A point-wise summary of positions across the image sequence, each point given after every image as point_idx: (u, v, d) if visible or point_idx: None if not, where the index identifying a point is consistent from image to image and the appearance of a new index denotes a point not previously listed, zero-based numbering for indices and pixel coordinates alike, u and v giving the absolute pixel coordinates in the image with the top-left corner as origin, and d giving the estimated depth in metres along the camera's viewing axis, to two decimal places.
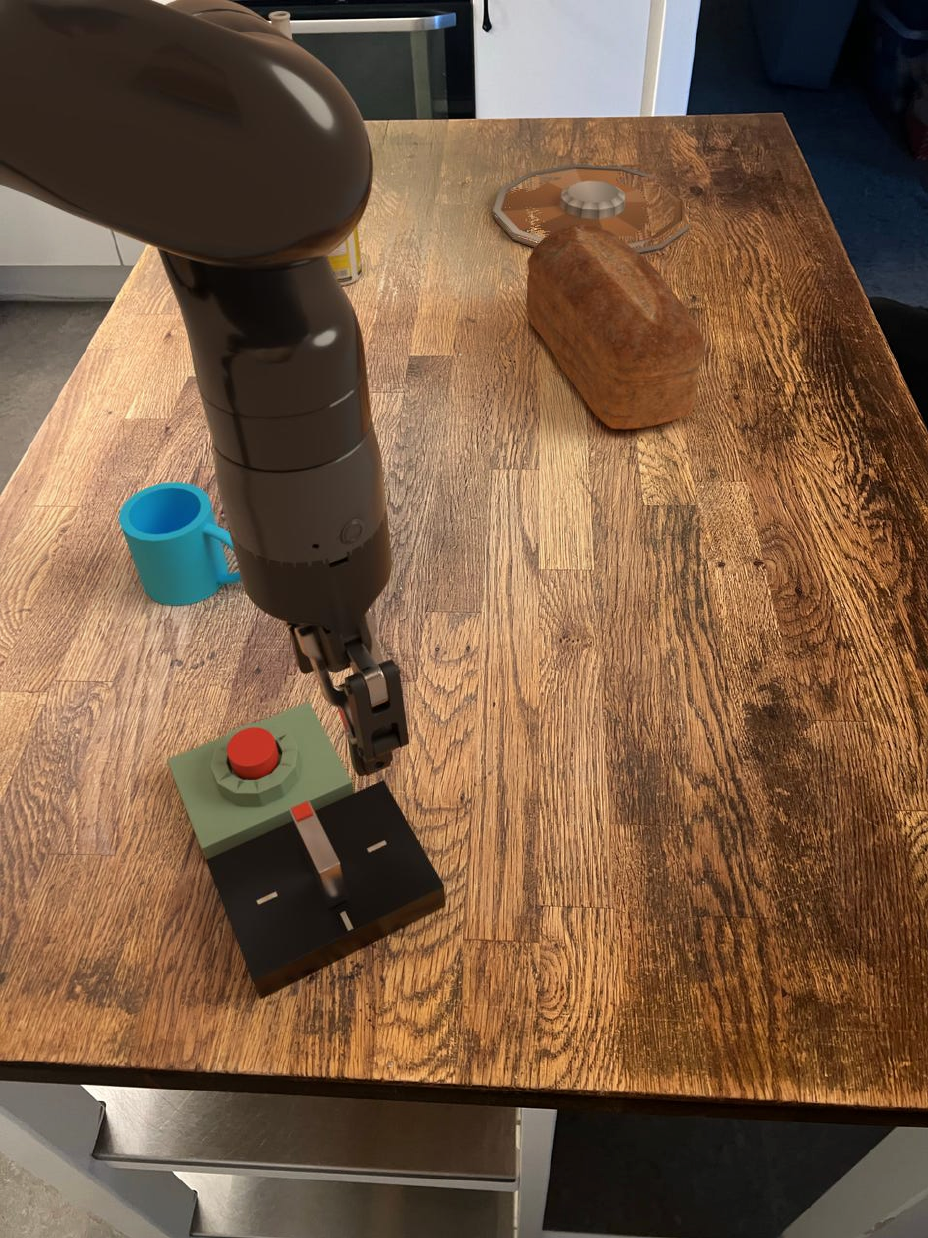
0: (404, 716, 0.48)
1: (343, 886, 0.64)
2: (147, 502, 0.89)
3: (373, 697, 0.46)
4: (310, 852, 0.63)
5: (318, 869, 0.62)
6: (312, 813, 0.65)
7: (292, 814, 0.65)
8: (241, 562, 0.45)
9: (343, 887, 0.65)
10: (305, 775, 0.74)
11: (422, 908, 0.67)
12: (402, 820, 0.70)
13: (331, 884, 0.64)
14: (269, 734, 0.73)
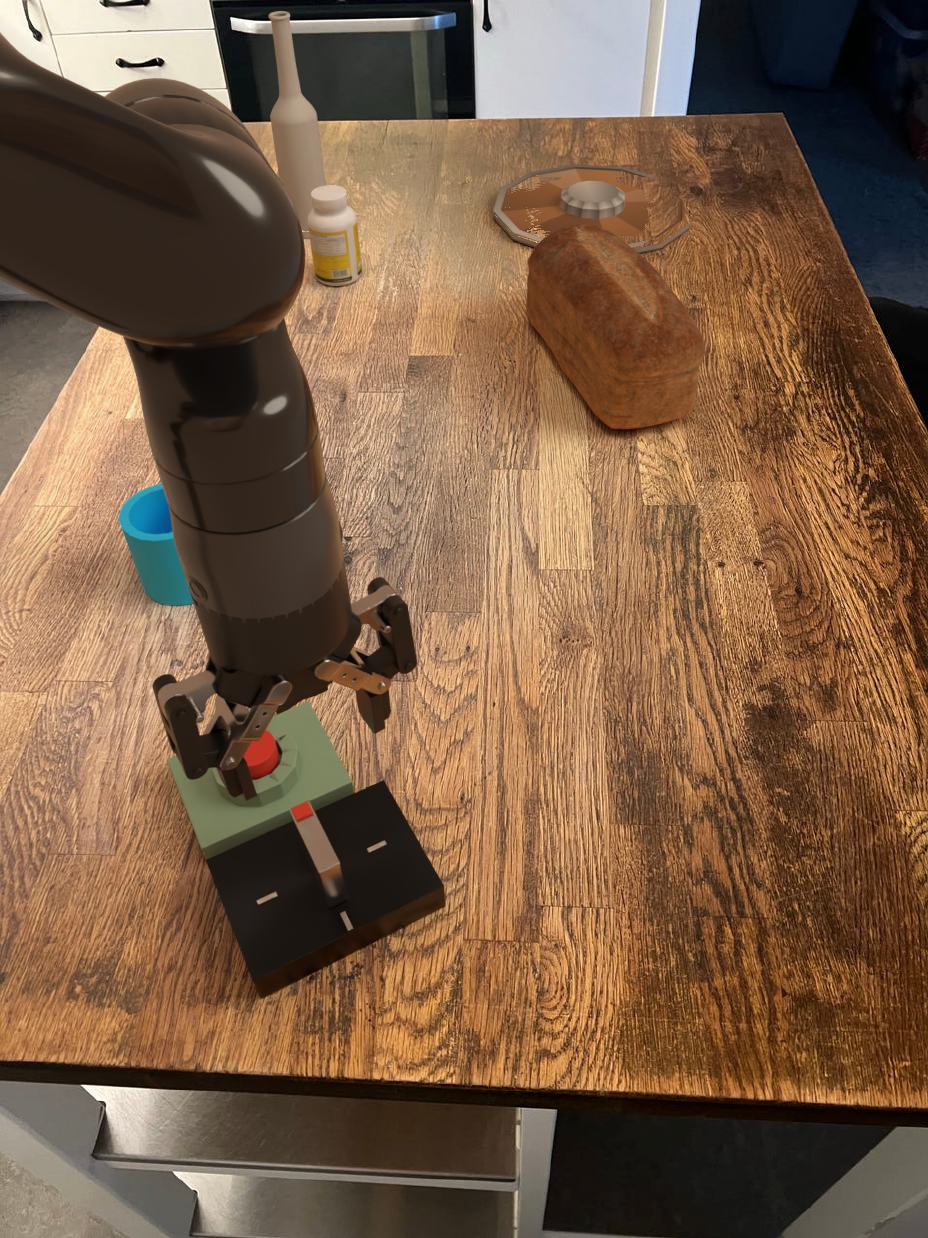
0: (179, 752, 0.49)
1: (343, 886, 0.64)
2: (147, 502, 0.89)
3: (160, 706, 0.49)
4: (310, 852, 0.63)
5: (318, 869, 0.62)
6: (312, 813, 0.65)
7: (292, 814, 0.65)
8: None
9: (343, 887, 0.65)
10: (305, 775, 0.74)
11: (422, 908, 0.67)
12: (402, 820, 0.70)
13: (331, 884, 0.64)
14: (269, 734, 0.73)
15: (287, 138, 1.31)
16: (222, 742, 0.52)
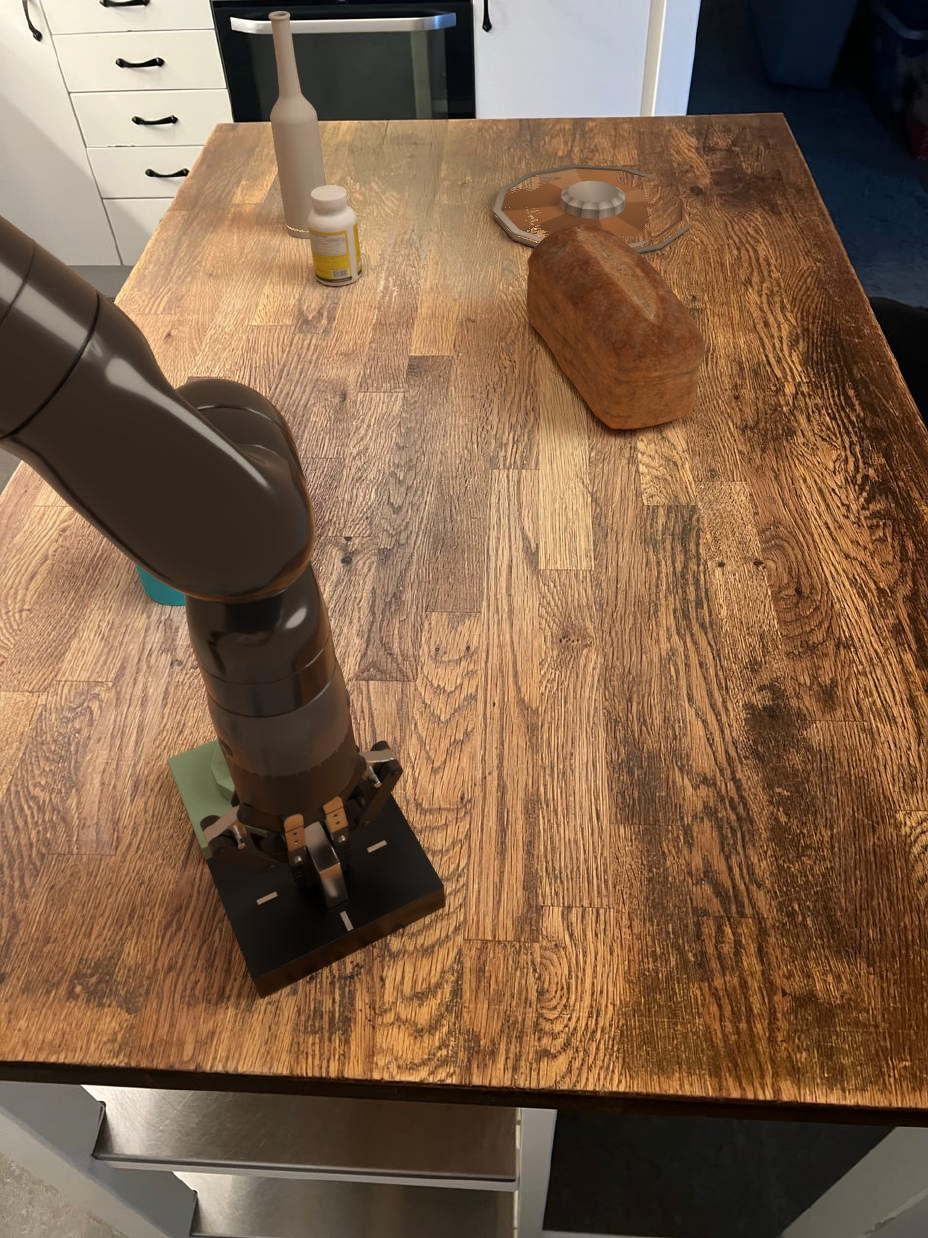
0: (243, 866, 0.60)
1: (343, 886, 0.64)
2: None
3: None
4: (310, 852, 0.63)
5: (318, 869, 0.62)
6: None
7: None
8: None
9: (343, 887, 0.65)
10: None
11: (422, 908, 0.67)
12: (402, 820, 0.70)
13: (331, 884, 0.64)
14: None
15: (287, 138, 1.31)
16: None
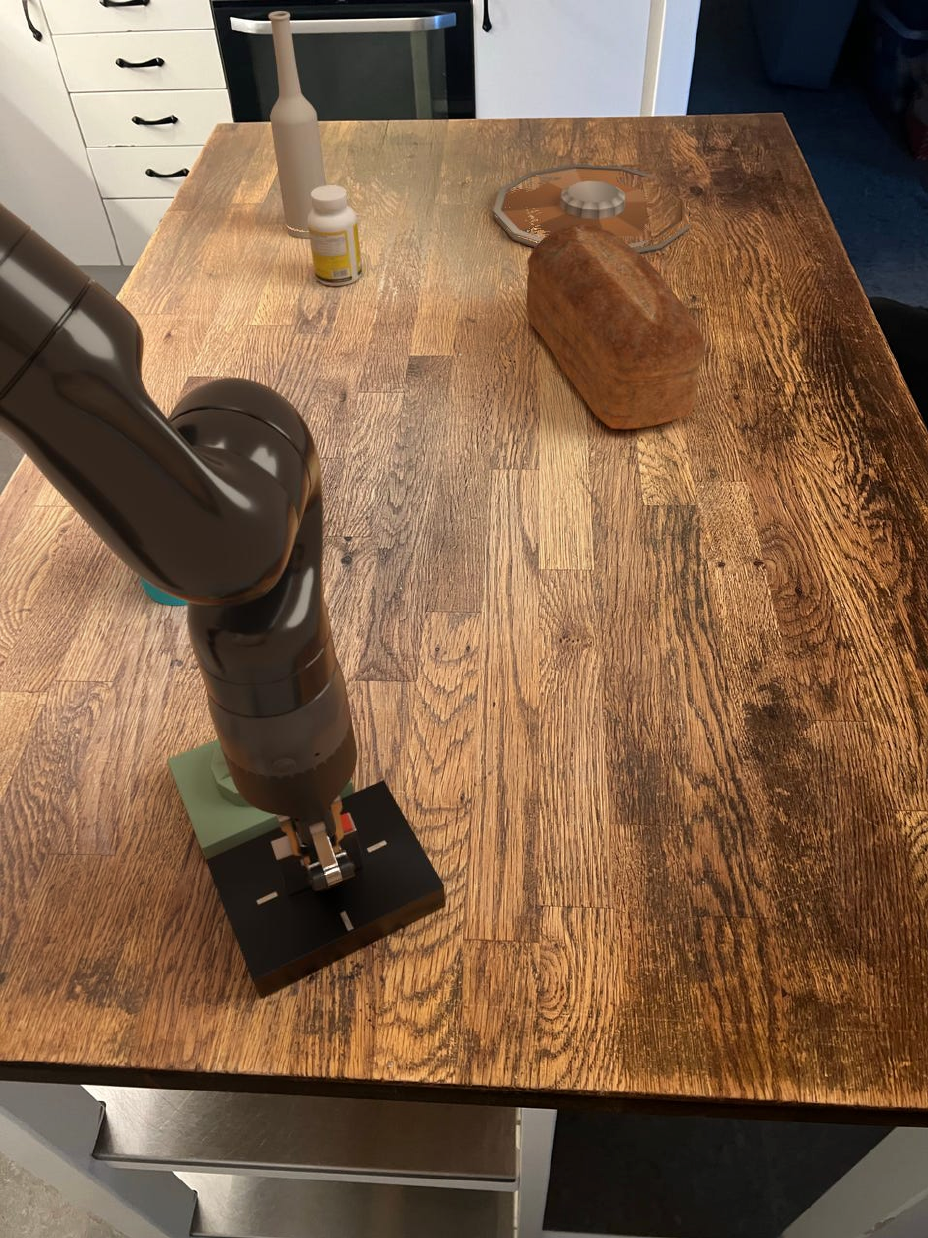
0: None
1: (283, 880, 0.65)
2: None
3: None
4: None
5: (275, 840, 0.64)
6: None
7: None
8: None
9: None
10: None
11: (422, 908, 0.67)
12: (402, 820, 0.70)
13: (278, 864, 0.65)
14: None
15: (287, 138, 1.31)
16: None
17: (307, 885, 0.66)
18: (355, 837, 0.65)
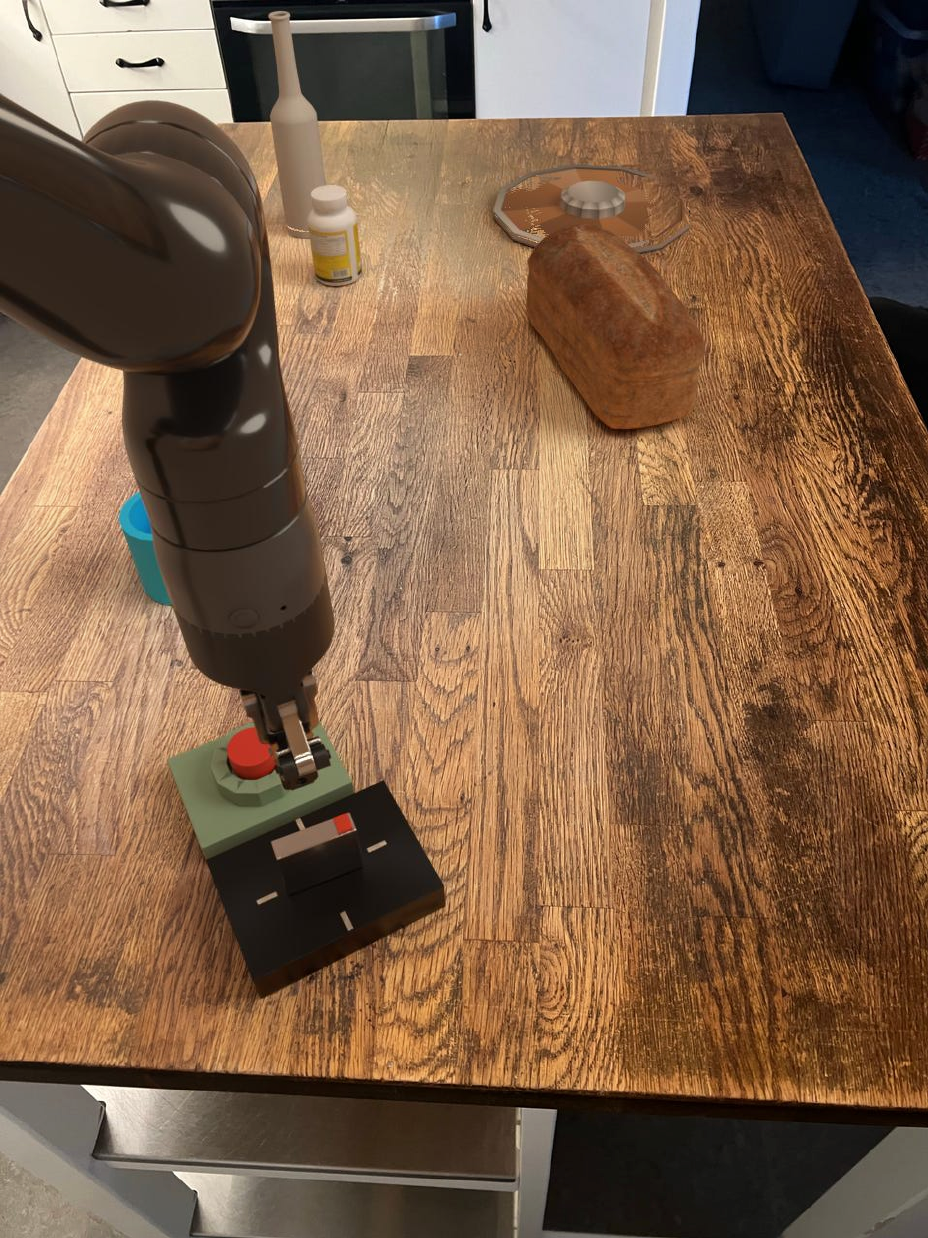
0: None
1: (283, 880, 0.65)
2: None
3: None
4: (295, 833, 0.64)
5: (275, 840, 0.64)
6: (338, 833, 0.64)
7: None
8: None
9: None
10: None
11: (422, 908, 0.67)
12: (402, 820, 0.70)
13: (278, 864, 0.65)
14: None
15: (287, 138, 1.31)
16: None
17: (307, 885, 0.66)
18: (355, 837, 0.65)
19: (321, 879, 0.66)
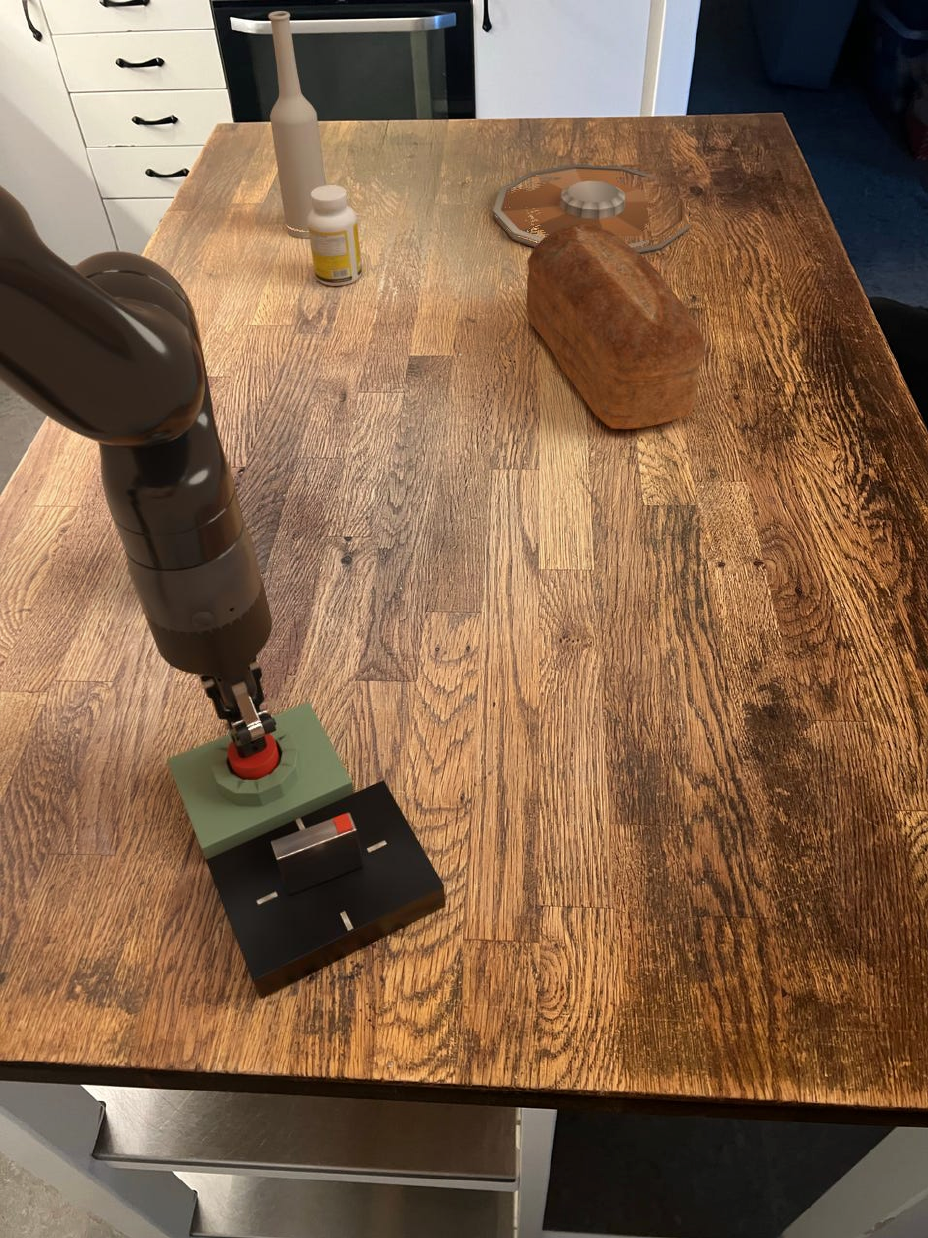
0: None
1: (283, 880, 0.65)
2: None
3: None
4: (295, 833, 0.64)
5: (275, 840, 0.64)
6: (338, 833, 0.64)
7: None
8: None
9: None
10: (305, 775, 0.74)
11: (422, 908, 0.67)
12: (402, 820, 0.70)
13: (278, 864, 0.65)
14: (270, 736, 0.73)
15: (287, 138, 1.31)
16: None
17: (307, 885, 0.66)
18: (355, 837, 0.65)
19: (321, 879, 0.66)
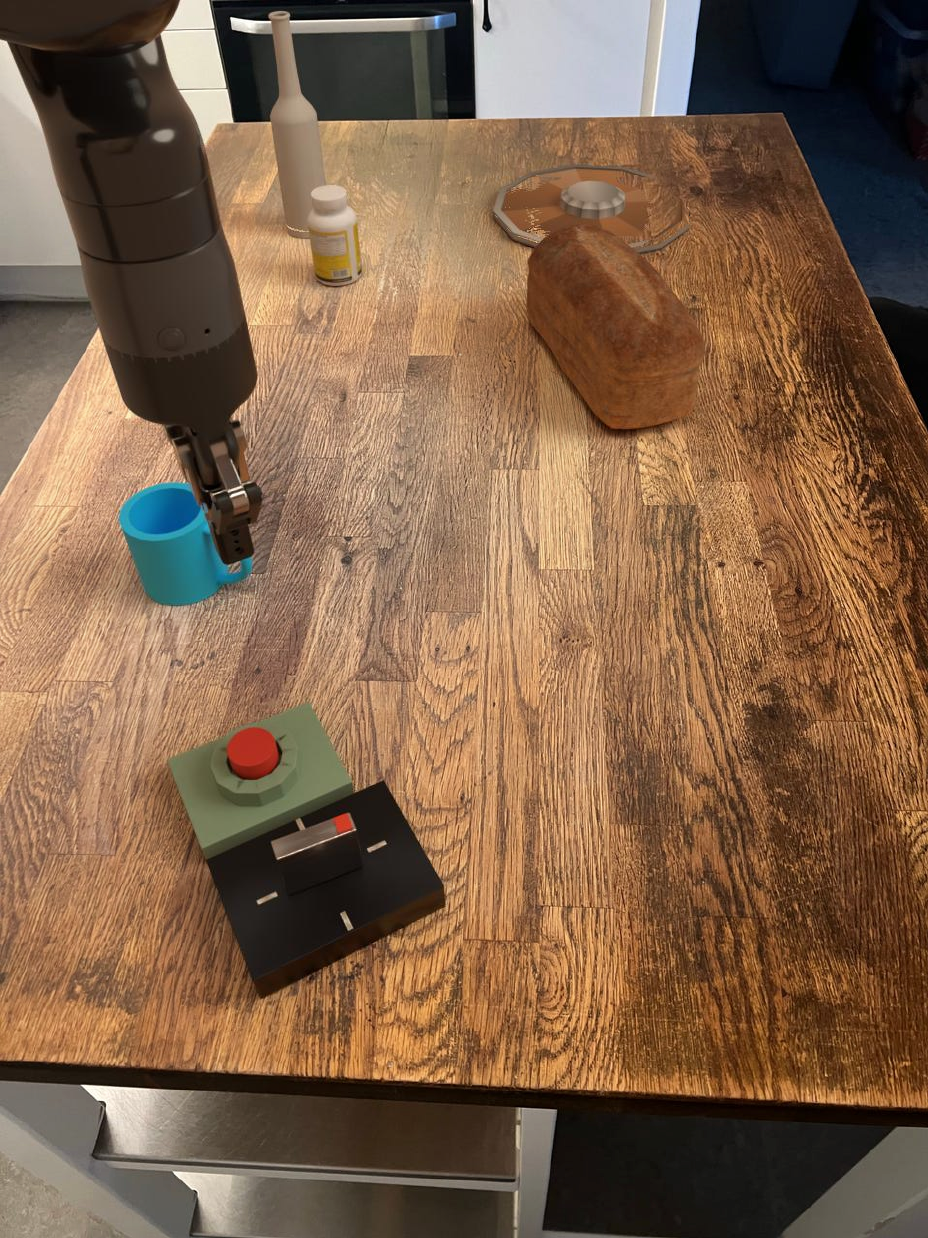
0: None
1: (283, 880, 0.65)
2: (147, 502, 0.89)
3: None
4: (295, 833, 0.64)
5: (275, 840, 0.64)
6: (338, 833, 0.64)
7: None
8: None
9: None
10: (305, 775, 0.74)
11: (422, 908, 0.67)
12: (402, 820, 0.70)
13: (278, 864, 0.65)
14: (269, 734, 0.73)
15: (287, 138, 1.31)
16: None
17: (307, 885, 0.66)
18: (355, 837, 0.65)
19: (321, 879, 0.66)
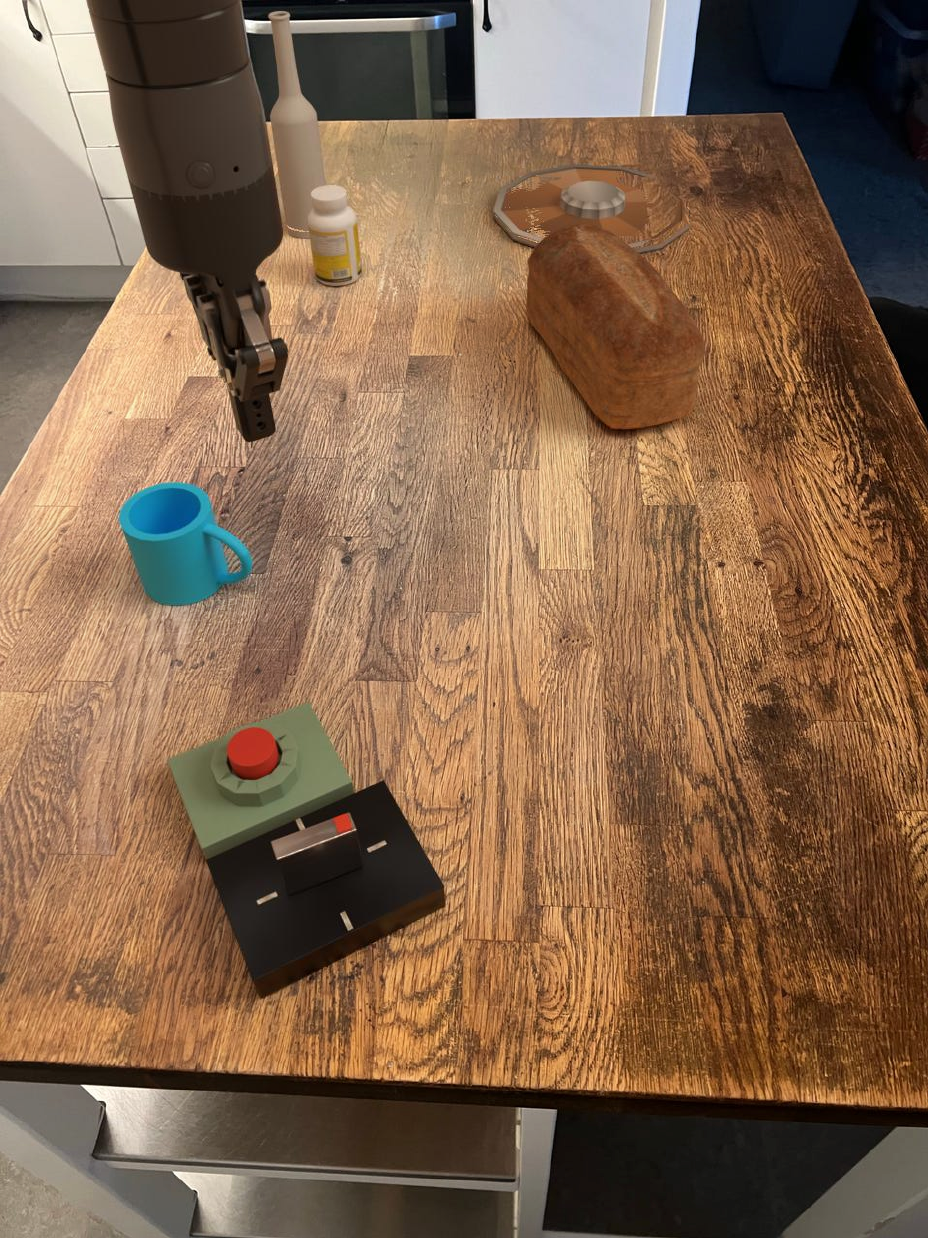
0: None
1: (283, 880, 0.65)
2: (147, 502, 0.89)
3: None
4: (295, 833, 0.64)
5: (275, 840, 0.64)
6: (338, 833, 0.64)
7: None
8: None
9: None
10: (305, 775, 0.74)
11: (422, 908, 0.67)
12: (402, 820, 0.70)
13: (278, 864, 0.65)
14: (269, 734, 0.73)
15: (287, 138, 1.31)
16: None
17: (307, 885, 0.66)
18: (355, 837, 0.65)
19: (321, 879, 0.66)
